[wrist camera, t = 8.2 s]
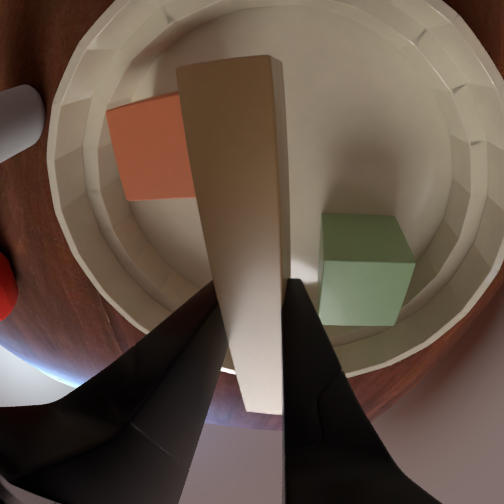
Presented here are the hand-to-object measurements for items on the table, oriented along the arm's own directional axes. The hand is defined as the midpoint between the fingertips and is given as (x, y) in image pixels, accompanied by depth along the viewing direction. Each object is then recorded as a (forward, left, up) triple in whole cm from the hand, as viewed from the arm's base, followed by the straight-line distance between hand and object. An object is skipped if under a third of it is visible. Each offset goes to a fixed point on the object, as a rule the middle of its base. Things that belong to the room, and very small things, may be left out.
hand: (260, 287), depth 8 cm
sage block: (-4, +3, -7) cm, 9 cm away
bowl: (0, 0, -8) cm, 8 cm away
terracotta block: (+4, -3, -7) cm, 9 cm away
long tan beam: (0, 0, -1) cm, 1 cm away
